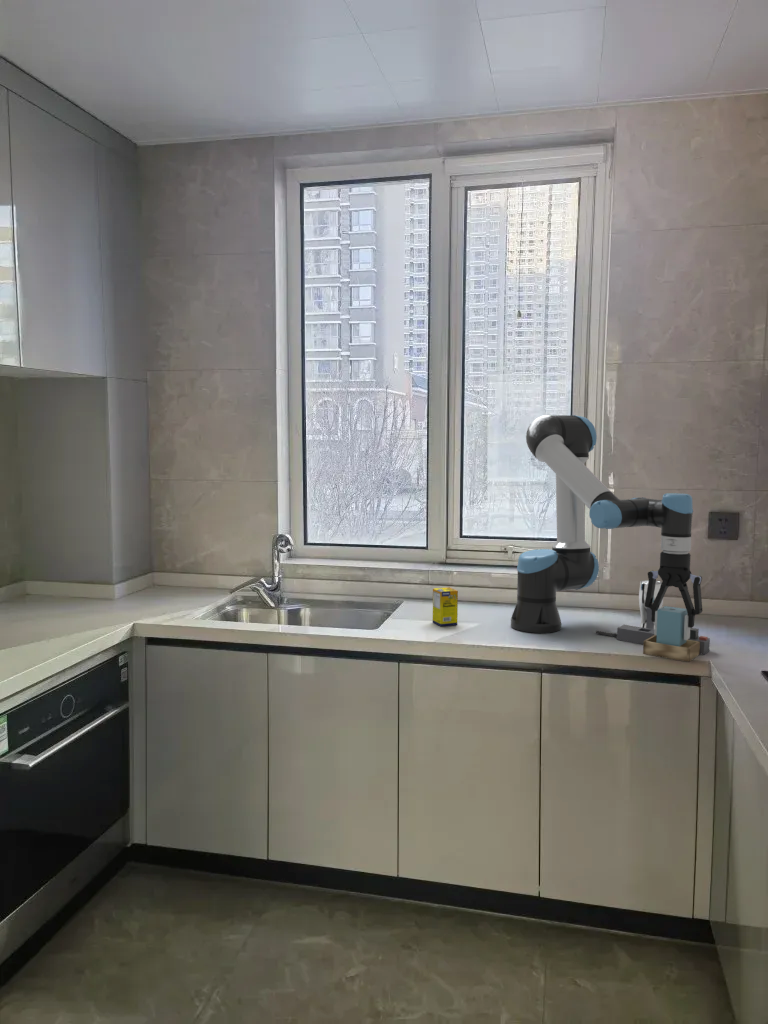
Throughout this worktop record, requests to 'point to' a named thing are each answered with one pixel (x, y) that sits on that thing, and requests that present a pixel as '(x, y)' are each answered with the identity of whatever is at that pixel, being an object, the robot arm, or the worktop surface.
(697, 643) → the tray
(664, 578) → the robot arm
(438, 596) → the supplement box
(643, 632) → the power strip
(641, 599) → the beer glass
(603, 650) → the worktop surface
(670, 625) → the block
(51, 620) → the worktop surface
